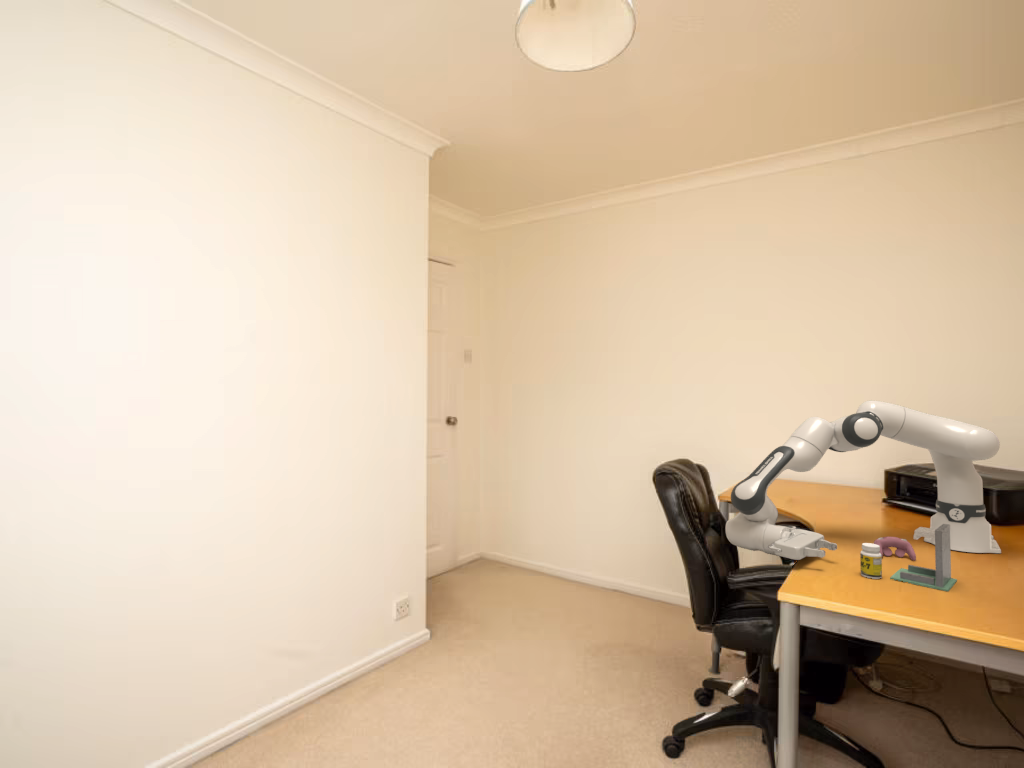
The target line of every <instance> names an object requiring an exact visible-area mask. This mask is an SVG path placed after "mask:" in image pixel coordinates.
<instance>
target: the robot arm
mask: <svg viewBox="0 0 1024 768" xmlns="http://www.w3.org/2000/svg"><path fill="white" fill-rule="evenodd" d="M880 436H882V437H885V438H888V439H891V440H894V441H898V442H900V443H903V444H904V443H905V444H908V445H911V446H913V447H914V446H915V447H917V448H922V449H927V450H928V451H929V454H930V456H931V459H932V463H933V466H934V469H935V473H936V479H937V480H936V485H937V499H936V501H935V507H936V508H935V509H936V513H935V514H933V515H932V516H930V526H929V528H932V529H937V528H938V527H940V526H941V525H942V524H949V525H950V550H952V551H958V552H963V553H966V552H967V553H973V554H975V553H977V554H982V553H983V554H987V553H989V554H1002V549H1001V548H1000V546H999V543H998V542H997V540H995V536H994V535H992V524H991V523H990V522H989V521H987V519H986V511H987V510H986V509H987V508H986V504H984V489H983V488H984V487H983V485H984V484H983V482H984V481H983V478H982V477H981V475H980V474H979V472H978V471H977V469H976V468H975V465H974V463H973V462H976V461H977V462H978V461H986V460H990V459H992V458H993V457H995V456H996V455H997V454H998V452H999V450H1000V446H1001V443H1000V442H1001V441H1000V439H999V437H998V435H997V434H996V433H994V432H993V431H992V430H991V429H987V428H985V427H982V426H979V425H976V424H972V423H968V422H965V421H960V420H956V419H953V418H948V417H943V416H939V415H937V414H935V415H934V414H930V413H927V412H923V411H921V410H916V409H913V408H909V407H907V406H902V405H899V404H895V403H892V402H886V401H880V400H872V399H871V400H866V401H863V402H862V403H861V404H860V405H859V406H858V407H857V409H856V412H855V413H852V414H850V415H845V416H842V417H840V418H837V419H836V420H833V421H828V420H827V419H825V418H822V417H819V416H810V417H808V418H807V419H805V420H804V421H803V422H802V423H801V424H800V425H799V426H798V427H797V428H795V430H794V431H793V433H791V435H790V436H789V437H788V439H787V440H786V441H785V442H784V443H783V444H782V445H780V446H778V447H776V448H775V449H774V450H772V451H771V452H770V453H769V454H768V455H767V456H766V457H765V458H764V459H763V460H762V461H761V462H760V464H758V466H757V467H755V469H754V470H753V471H752V472H751V473H750V474H749V475H748V476H746V477H745V478H744V479H743V480H741V481H740V482H738V483H737V484H736V485H735V486H734V487H733V488H732V490H731V492H730V501H731V504H732V506H733V507H734V508H735V509H737V510H738V511H739V512H737V514H736V515H735V516H734V517H733V518H731V519H727V521H726V522H725V529H724V530H725V536H726V539H727V540H728V541H729V542H730V544H731V545H733V546H736V547H739V548H742V549H745V550H749V551H753V552H755V551H756V552H758V551H759V552H763V553H765V554H767V555H773V556H777V557H782V558H785V559H786V558H787V559H791V560H795V561H796V560H797V561H799V560H802V559H804V558H806V557H813V558H814V557H816V558H824V557H826V551H825V549H827V550H829V551H836V550H838V544H837V543H834V542H830V541H828V540H826V539H825V536H824V534H821V533H819V532H815V531H810V530H806V529H801V528H797V527H796V526H793V525H776V524H777V521H778V518H779V511H778V508H777V507H776V505H775V504H774V502H773V501H772V499H771V498H770V497H769V496H768V489H769V487H770V486H771V485H772V484H773V483H774V482H775V480H777V478H778V477H780V475H781V474H782V473H783V472H785V471H787V470H790V471H793V472H798V473H807V472H809V471H811V470H813V468H814V467H816V466H817V465H818V464H819V462H820V461H821V459H822V458H823V456H824V455H825V454H826V452H827V450H830V451H834V452H836V453H846V452H847V453H848V452H853V451H858V450H860V449H863V448H868V447H870V446H872V445H874V444H875V443H876V442H877V441H878V440H879V438H880ZM923 541H924V542H926V543H931V544H932V545H934V546H935V539H934V538H928V537H923ZM821 548H822V549H821Z"/></svg>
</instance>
